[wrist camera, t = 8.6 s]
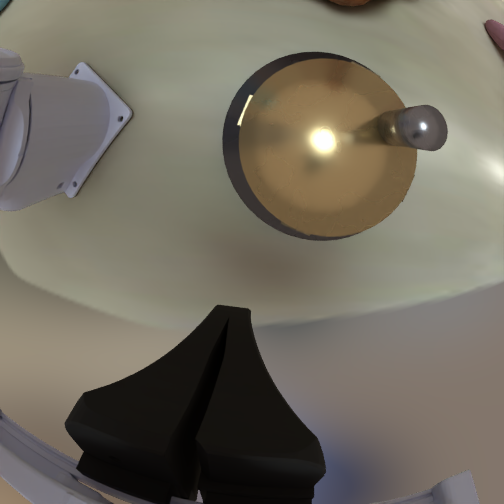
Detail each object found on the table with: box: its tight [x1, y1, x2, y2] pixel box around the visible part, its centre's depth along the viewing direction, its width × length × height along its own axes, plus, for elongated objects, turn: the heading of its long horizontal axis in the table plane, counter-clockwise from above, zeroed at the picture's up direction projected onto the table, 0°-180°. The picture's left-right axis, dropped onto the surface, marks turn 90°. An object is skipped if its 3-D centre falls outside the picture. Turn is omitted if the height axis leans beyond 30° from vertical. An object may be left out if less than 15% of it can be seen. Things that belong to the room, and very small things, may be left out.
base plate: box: [222, 52, 385, 241], centre depth 17 cm, size 13×13×1 cm
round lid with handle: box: [237, 58, 448, 237], centre depth 13 cm, size 10×10×7 cm
